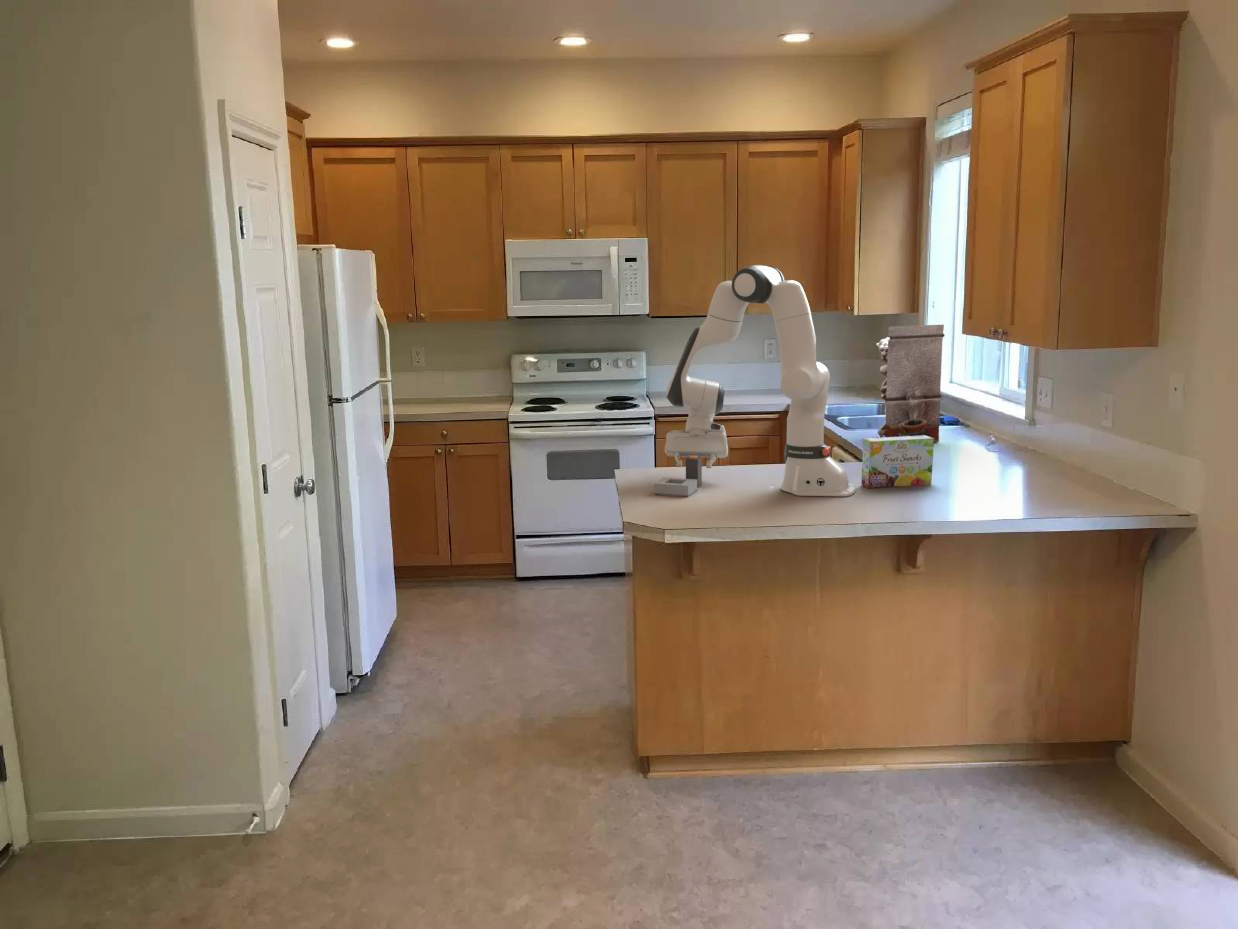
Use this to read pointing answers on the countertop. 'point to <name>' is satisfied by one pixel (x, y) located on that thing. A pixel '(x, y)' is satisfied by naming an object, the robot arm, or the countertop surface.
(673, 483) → the socket plate
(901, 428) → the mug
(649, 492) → the countertop surface
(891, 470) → the snack box
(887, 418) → the cherub statue
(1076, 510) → the countertop surface
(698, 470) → the plug
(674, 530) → the countertop surface
